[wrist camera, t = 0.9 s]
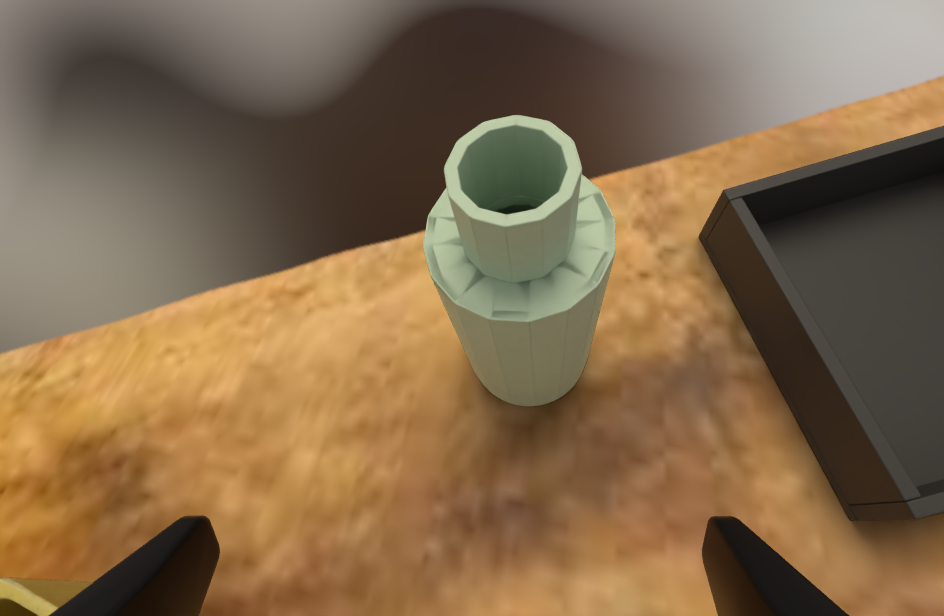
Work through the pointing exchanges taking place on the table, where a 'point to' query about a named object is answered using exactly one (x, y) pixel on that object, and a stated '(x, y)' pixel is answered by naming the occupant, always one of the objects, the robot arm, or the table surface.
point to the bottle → (521, 256)
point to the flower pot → (36, 595)
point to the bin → (850, 313)
